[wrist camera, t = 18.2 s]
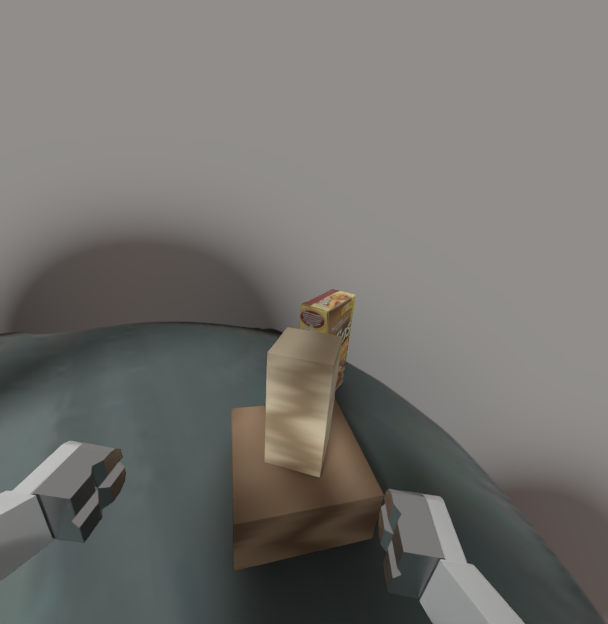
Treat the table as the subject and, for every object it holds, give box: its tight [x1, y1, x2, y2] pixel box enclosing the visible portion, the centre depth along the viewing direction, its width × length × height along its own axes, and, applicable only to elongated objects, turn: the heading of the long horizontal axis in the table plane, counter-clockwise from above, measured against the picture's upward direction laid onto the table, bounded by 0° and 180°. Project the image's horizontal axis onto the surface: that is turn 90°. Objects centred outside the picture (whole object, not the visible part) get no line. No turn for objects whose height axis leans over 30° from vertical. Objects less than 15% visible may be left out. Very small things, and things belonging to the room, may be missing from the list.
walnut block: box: [232, 399, 384, 571], centre depth 28 cm, size 12×12×6 cm
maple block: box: [264, 327, 343, 477], centre depth 25 cm, size 5×5×11 cm
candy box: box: [299, 289, 356, 391], centre depth 41 cm, size 9×4×15 cm, turn 148°
